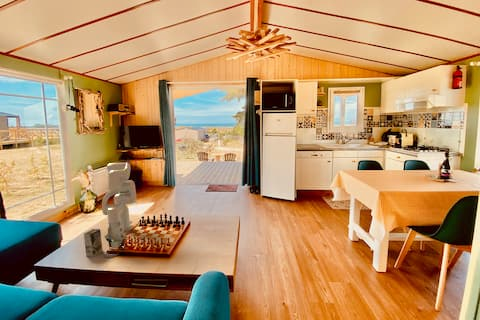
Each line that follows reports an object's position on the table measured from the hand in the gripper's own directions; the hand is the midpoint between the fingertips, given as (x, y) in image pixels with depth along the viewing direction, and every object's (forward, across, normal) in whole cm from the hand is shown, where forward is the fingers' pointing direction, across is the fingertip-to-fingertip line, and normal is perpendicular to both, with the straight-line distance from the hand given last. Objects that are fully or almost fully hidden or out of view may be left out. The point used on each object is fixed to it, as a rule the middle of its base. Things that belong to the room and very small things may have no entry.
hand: (116, 246), depth 199 cm
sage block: (+1, 0, 0) cm, 1 cm away
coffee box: (+1, +12, +8) cm, 14 cm away
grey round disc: (+1, -2, +10) cm, 10 cm away
